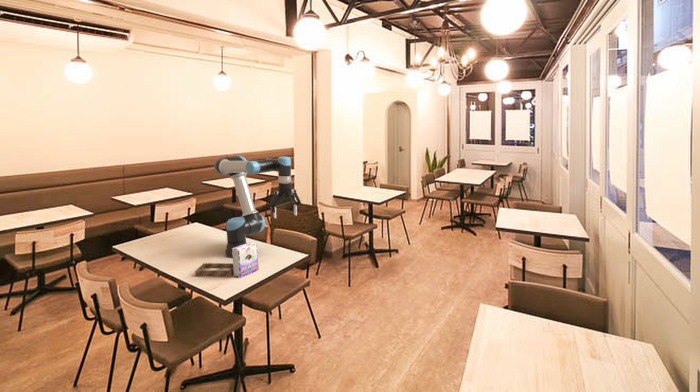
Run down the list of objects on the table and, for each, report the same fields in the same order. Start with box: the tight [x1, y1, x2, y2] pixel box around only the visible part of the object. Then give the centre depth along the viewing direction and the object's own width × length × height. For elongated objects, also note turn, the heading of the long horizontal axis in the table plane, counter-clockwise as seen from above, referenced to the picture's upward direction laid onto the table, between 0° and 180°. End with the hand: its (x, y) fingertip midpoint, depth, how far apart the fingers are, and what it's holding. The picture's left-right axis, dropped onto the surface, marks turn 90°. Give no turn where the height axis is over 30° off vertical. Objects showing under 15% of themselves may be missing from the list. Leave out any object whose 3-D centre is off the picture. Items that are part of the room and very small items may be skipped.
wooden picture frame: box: [194, 262, 234, 278], centre depth 227 cm, size 20×12×3 cm, turn 88°
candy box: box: [231, 241, 259, 279], centre depth 225 cm, size 14×6×16 cm, turn 145°
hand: (285, 216), depth 243 cm, fingers open, 13 cm apart
